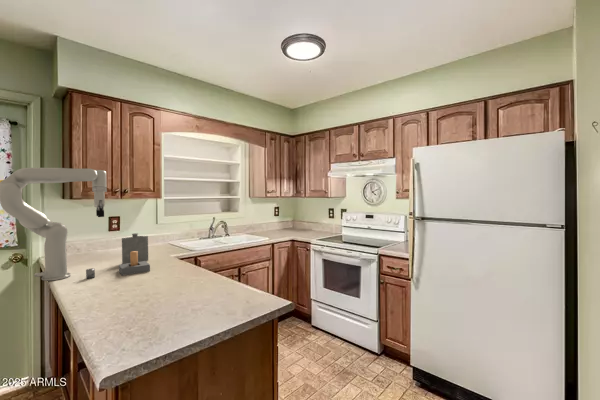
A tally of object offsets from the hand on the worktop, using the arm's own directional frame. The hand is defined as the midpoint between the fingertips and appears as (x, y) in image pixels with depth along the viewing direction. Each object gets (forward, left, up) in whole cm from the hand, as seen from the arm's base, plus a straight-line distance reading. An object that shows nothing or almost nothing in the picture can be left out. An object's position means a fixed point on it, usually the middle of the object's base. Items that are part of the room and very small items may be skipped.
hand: (100, 216), depth 184 cm
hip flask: (+20, +4, -34) cm, 39 cm away
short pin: (-7, -21, -33) cm, 40 cm away
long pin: (+15, -21, -33) cm, 42 cm away
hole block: (+15, -21, -33) cm, 42 cm away
